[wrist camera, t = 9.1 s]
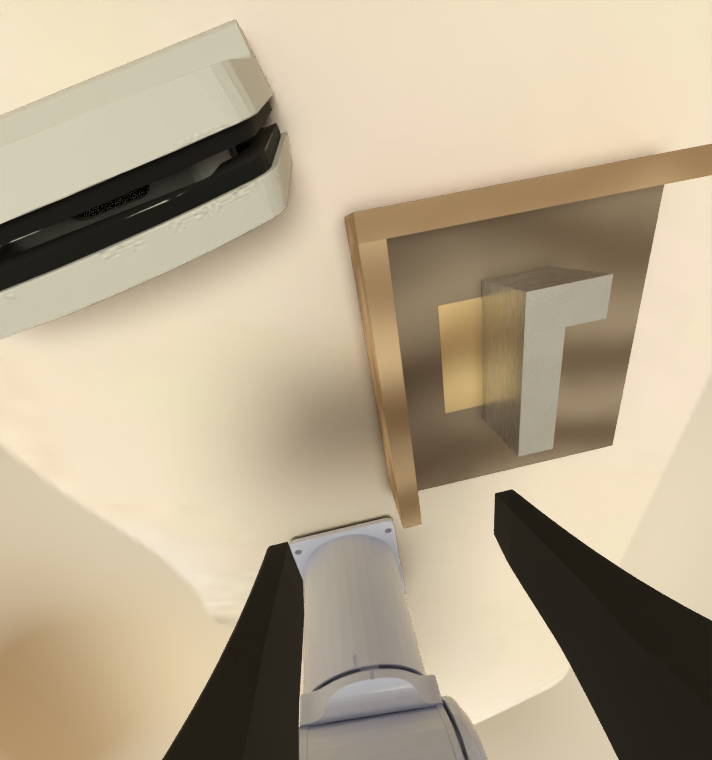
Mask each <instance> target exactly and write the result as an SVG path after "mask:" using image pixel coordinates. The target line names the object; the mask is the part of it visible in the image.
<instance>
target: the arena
mask: <svg viewBox="0 0 712 760" xmlns="http://www.w3.org/2000/svg"><path fill="white" fill-rule="evenodd" d="M663 187H664V184H663V185H658V186H653V187H648V188H643V189H638V190H633V191H628V192H622V193H617V194H612V195H607V196H602V197H597V198H592V199H587V200H582V201H577V202H572V203H566V204H561V205H556V206H551V207H546V208H541V209H536V210H531V211H526V212H521V213H516V214H510V215H505V216H500V217H495V218H490V219H485V220H480V221H475V222H470V223H465V224H460V225H454V226H449V227H444V228H439V229H434V230H429V231H424V232H419V233H414V234H409V235H404V236H399V237H393V238H388V239H386V241H387V249H388V257H389V265H390V273H391V281H392V289H393V297H394V305H395V313H396V321H397V329H398V337H399V345H400V354H401V362H402V370H403V378H404V386H405V394H406V402H407V410H408V418H409V426H410V434H411V442H412V450H413V458H414V466H415V474H416V482H417V490H418V491H419V490H424V489H428V488H432V487H436V486H441V485H445V484H449V483H453V482H458V481H462V480H466V479H471V478H475V477H479V476H483V475H488V474H492V473H496V472H500V471H505V470H509V469H513V468H517V467H522V466H526V465H530V464H535V463H539V462H543V461H547V460H552V459H556V458H560V457H564V456H569V455H573V454H577V453H582V452H586V451H590V450H594V449H599V448H603V447H607V446H611V445H612V444H613V439H614V434H615V429H616V424H617V419H618V414H619V409H620V404H621V399H622V394H623V389H624V384H625V379H626V374H627V369H628V363H629V358H630V353H631V348H632V343H633V338H634V333H635V328H636V323H637V318H638V313H639V308H640V303H641V298H642V293H643V288H644V283H645V278H646V273H647V268H648V263H649V258H650V253H651V248H652V243H653V238H654V233H655V228H656V223H657V218H658V212H659V207H660V202H661V197H662V192H663ZM551 266H553V267H561V268H569V269H577V270H585V271H593V272H601V273H610V274H613V279H612V285H611V292H610V298H609V304H608V311H607V317H606V318H605V319H601V320H596V321H591V322H587V323H582V324H577V325H573V326H568V327H565V337H564V346H563V356H562V366H561V375H560V385H559V395H558V404H557V414H556V424H555V433H554V443H553V449H550V450H545V451H541V452H537V453H532V454H528V455H524V456H519V457H518V456H517V455H516V454H515V453H514V452H513V451H512V449H511V448H510V447H509V446H508V445H507V444H506V443H505V442H504V441H503V440H502V439H501V438H500V437H499V436H498V435H497V434H496V433H495V432H494V430H493V429H492V428H491V427H490V426H489V425H488V424H487V423H486V422H485V421H484V420H483V364H482V281H483V280H487V279H492V278H497V277H502V276H507V275H512V274H517V273H522V272H526V271H531V270H536V269H541V268H546V267H551Z"/></svg>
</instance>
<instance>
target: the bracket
mask: <svg viewBox="0 0 712 760" xmlns="http://www.w3.org/2000/svg"><path fill="white" fill-rule="evenodd" d="M612 279H613V274H610V273H601V272H593V271H585V270H577V269H569V268H561V267H553V266H551V267H546V268H541V269H536V270H531V271H526V272H522V273H517V274H512V275H507V276H502V277H497V278H492V279H487V280H483V281H482V364H483V420H484V421H485V422H486V423H487V424H488V425H489V426H490V427H491V428H492V429H493V430H494V432H495V433H496V434H497V435H498V436H499V437H500V438H501V439H502V440H503V441H504V442H505V443H506V444H507V445H508V446H509V447H510V448H511V449H512V451H513V452H514V453H515V454H516V455H517V456H518V457H519V456H524V455H528V454H532V453H537V452H541V451H545V450H550V449H553V443H554V433H555V424H556V414H557V404H558V395H559V385H560V375H561V366H562V356H563V346H564V337H565V327H568V326H573V325H577V324H582V323H587V322H591V321H596V320H601V319H605V318H606V317H607V311H608V304H609V298H610V292H611V285H612Z"/></svg>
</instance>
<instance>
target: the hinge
mask: <svg viewBox="0 0 712 760" xmlns="http://www.w3.org/2000/svg"><path fill="white" fill-rule="evenodd" d="M272 95H273V92H272V90H271V88H270V86H269V84H268V82H267V80H266V78H265V76H264V74H263V72H262V70H261V68H260V66H259V64H258V62H257V60H256V58H255V56H254V54H253V52H252V50H251V48H250V46H249V44H248V42H247V40H246V38H245V36H244V34H243V32H242V30H241V28H240V26H239V24H238V22H237V20H232V21H230V22H227V23H225V24H222V25H220V26H218V27H215V28H213V29H210V30H208V31H205V32H203V33H201V34H198V35H196V36H193V37H191V38H188V39H186V40H183V41H181V42H179V43H176V44H174V45H171V46H169V47H166V48H164V49H161V50H159V51H157V52H154V53H152V54H149V55H147V56H144V57H142V58H140V59H137V60H135V61H132V62H130V63H127V64H125V65H122V66H120V67H118V68H115V69H113V70H110V71H108V72H105V73H103V74H100V75H98V76H96V77H93V78H91V79H88V80H86V81H83V82H81V83H79V84H76V85H74V86H71V87H69V88H66V89H64V90H61V91H59V92H57V93H54V94H52V95H49V96H47V97H44V98H42V99H39V100H37V101H35V102H32V103H30V104H27V105H25V106H22V107H20V108H18V109H15V110H13V111H10V112H8V113H5V114H3V115H0V339H3V338H6V337H8V336H11V335H14V334H16V333H19V332H22V331H25V330H27V329H30V328H33V327H35V326H38V325H41V324H44V323H46V322H49V321H52V320H54V319H57V318H60V317H62V316H65V315H67V314H70V313H72V312H75V311H77V310H80V309H82V308H85V307H87V306H90V305H92V304H95V303H97V302H99V301H102V300H104V299H107V298H109V297H111V296H114V295H116V294H118V293H120V292H123V291H125V290H127V289H129V288H132V287H134V286H136V285H138V284H140V283H143V282H145V281H147V280H149V279H152V278H154V277H156V276H158V275H161V274H163V273H165V272H167V271H170V270H172V269H174V268H176V267H178V266H180V265H182V264H184V263H186V262H189V261H191V260H193V259H195V258H197V257H199V256H201V255H203V254H205V253H207V252H209V251H211V250H213V249H215V248H217V247H219V246H221V245H223V244H225V243H227V242H229V241H231V240H233V239H235V238H237V237H239V236H240V235H242V234H244V233H246V232H248V231H250V230H252V229H254V228H256V227H258V226H260V225H262V224H263V223H265V222H267V221H269V220H271V219H273V218H274V217H276V216H277V215H279V214H280V213H281V212H282V211H283V210H284V209H285V208H286V206H287V200H288V192H289V184H290V177H291V169H292V160H291V154H290V148H289V142H288V136H287V132H284V133H281V134H280V131H279V129H278V126H277V123H275V124H273V125H271V126H268V127H266V128H263V129H261V130H259V129H260V128H261V126H262V124H263V123H264V121H265V120H266V118H267V117H268V115H269V113H270V112H271V110H272V109H271V106H270V103H269V101H268V100H269V99H270V97H271V96H272ZM148 184H149V191H148V193H147V194H146V195H144V196H142V197H139V198H137V199H134V200H132V201H129V202H127V203H124V204H122V205H119V206H116V207H114V208H111V209H109V210H106V211H104V212H101V213H99V214H96V215H94V216H91V217H81V216H78V214H81V213H83V212H85V211H88V210H90V209H92V208H95V207H97V206H100V205H102V204H104V203H107V202H109V201H111V200H113V199H116V198H118V197H120V196H123V195H125V194H127V193H130V192H132V191H134V190H136V189H139V188H141V187H143V186H146V185H148Z"/></svg>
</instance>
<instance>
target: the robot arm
mask: <svg viewBox="0 0 712 760" xmlns="http://www.w3.org/2000/svg"><path fill="white" fill-rule="evenodd" d="M387 528H389V529H387ZM494 535H495V537H496V539H497V541H498V543H499V545H500V548H501V550H502V552H503V554H504V556H505V558H506V560H507V562H508V563H509V565H510V567H511V569H512V570H513V572H514V573H515V575H516V577H517V578H518V580H519V582H520V583H521V585H522V586H523V588H524V590H525V591H526V593H527V594H528V596H529V597H530V599H531V601H532V602H533V604H534V605H535V607H536V609H537V610H538V612H539V613H540V615H541V616H542V618H543V620H544V621H545V623H546V624H547V626H548V628H549V629H550V631H551V632H552V634H553V635H554V637H555V639H556V640H557V642H558V644H559V646H560V647H561V649H562V651H563V652H564V654H565V656H566V658H567V660H568V662H569V663H570V665H571V667H572V669H573V671H574V673H575V675H576V676H577V679H578V680H579V682H580V684H581V686H582V688H583V690H584V692H585V693H586V696H587V698H588V699H589V701H590V703H591V705H592V707H593V709H594V711H595V713H596V715H597V717H598V719H599V721H600V723H601V725H602V727H603V729H604V731H605V732H606V735H607V737H608V739H609V741H610V743H611V744H612V747H613V749H614V751H615V753H616V755H617V757H618V759H619V760H712V621H711V620H709V619H708V618H706V617H703V616H702V615H700V614H698V613H696V612H694V611H692V610H691V609H689V608H687V607H685V606H683V605H681V604H680V603H678V602H676V601H674V600H673V599H671V598H669V597H667V596H666V595H663V594H662V593H660V592H659V591H657V590H655V589H654V588H652V587H650V586H649V585H647V584H645V583H644V582H642V581H640V580H639V579H637V578H635V577H634V576H632V575H631V574H629V573H627V572H626V571H624V570H623V569H621V568H620V567H618V566H617V565H615V564H614V563H612V562H611V561H609V560H608V559H606V558H605V557H603V556H602V555H600V554H599V553H597V552H596V551H594V550H593V549H591V548H590V547H588V546H587V545H585V544H584V543H583V542H581V541H580V540H579V539H577V538H576V537H574V536H573V535H572V534H570V533H569V532H567V531H566V530H565V529H563V528H562V527H561V526H559V525H558V524H557V523H555V522H554V521H553V520H551V519H550V518H549V517H547V516H546V515H545V514H543V513H542V512H541V511H539V510H538V509H537V508H536V507H534V506H533V505H532V504H530V503H529V502H528V501H527V500H525V499H524V498H523V497H522V496H520V495H519V494H518V493H516V492H515V491H514V490H508V491H504V492H499V493H495V514H494ZM303 583H304V586H305V620H304V597H303ZM405 594H406V592H405V586H404V580H403V575H402V569H401V563H400V558H399V552H398V546H397V541H396V535H395V529H394V524H393V521H392V519H391V518H383V519H379V520H374V521H370V522H366V523H362V524H357V525H353V526H349V527H345V528H341V529H336V530H332V531H328V532H324V533H320V534H315V535H311V536H307V537H303V538H298V539H295V540H293V541H291V543H290V546H289V544H288V542H285V543H281V544H277V545H272V546H269V548H268V549H267V551H266V554H265V557H264V560H263V562H262V565H261V568H260V570H259V573H258V575H257V578H256V580H255V583H254V585H253V588H252V590H251V593H250V595H249V597H248V600H247V602H246V604H245V606H244V609H243V611H242V613H241V615H240V618H239V620H238V622H237V624H236V627H235V629H234V631H233V633H232V635H231V637H230V639H229V641H228V643H227V645H226V647H225V649H224V651H223V653H222V655H221V657H220V659H219V661H218V663H217V665H216V667H215V669H214V671H213V673H212V675H211V677H210V679H209V680H208V682H207V684H206V686H205V688H204V690H203V691H202V693H201V695H200V697H199V699H198V700H197V702H196V704H195V706H194V708H193V709H192V711H191V713H190V714H189V716H188V718H187V720H186V721H185V723H184V725H183V726H182V728H181V730H180V731H179V733H178V735H177V736H176V738H175V740H174V741H173V743H172V745H171V746H170V748H169V750H168V751H167V753H166V754H165V756H164V758H163V759H162V760H487V757H486V754H485V751H484V749H483V746H482V744H481V741H480V739H479V736H478V734H477V732H476V730H475V728H474V726H473V724H472V722H471V720H470V719H469V717H468V716H467V714H466V713H465V712H464V711H463V710H462V709H461V708H460V707H459V705H458V704H457V702H456V701H455V700H454V699H453V698H452V697H449V696H442V697H441V695H440V691H439V688H438V684H437V681H436V677H435V675H426V674H425V671H424V667H423V663H422V659H421V655H420V652H419V648H418V644H417V640H416V636H415V633H414V629H413V625H412V621H411V618H410V614H409V610H408V606H407V602H406V599H405ZM303 627H304V690H303V691H304V693H303V694H302V695H301V698H300V700H301V701H300V727H299V696H300V678H301V662H302V645H303Z"/></svg>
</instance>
